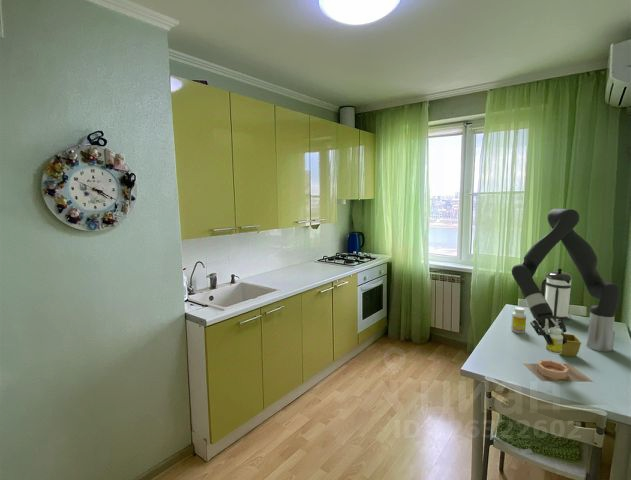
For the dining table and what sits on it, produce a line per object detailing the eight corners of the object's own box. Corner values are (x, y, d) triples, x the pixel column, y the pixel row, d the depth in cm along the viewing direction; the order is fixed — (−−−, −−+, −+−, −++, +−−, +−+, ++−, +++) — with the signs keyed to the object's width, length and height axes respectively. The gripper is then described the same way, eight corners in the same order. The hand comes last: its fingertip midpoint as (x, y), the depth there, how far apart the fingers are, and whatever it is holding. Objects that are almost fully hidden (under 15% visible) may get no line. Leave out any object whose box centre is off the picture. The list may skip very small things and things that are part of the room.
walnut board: (569, 366, 153) (569, 363, 153) (592, 384, 139) (593, 381, 139) (522, 366, 154) (522, 363, 154) (541, 383, 140) (541, 380, 140)
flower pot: (572, 352, 166) (574, 334, 164) (579, 361, 157) (581, 342, 156) (551, 349, 168) (552, 332, 167) (557, 358, 160) (558, 339, 159)
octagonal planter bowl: (556, 366, 151) (557, 359, 150) (573, 379, 140) (574, 372, 140) (532, 366, 151) (532, 359, 151) (546, 379, 141) (547, 372, 140)
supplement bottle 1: (527, 333, 187) (528, 311, 185) (513, 333, 188) (515, 310, 186) (522, 328, 194) (524, 306, 192) (509, 328, 195) (510, 306, 193)
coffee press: (572, 315, 212) (577, 267, 208) (568, 323, 200) (573, 272, 196) (539, 309, 224) (543, 263, 219) (533, 315, 212) (537, 268, 208)
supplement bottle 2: (542, 348, 147) (544, 326, 145) (554, 348, 147) (556, 326, 146) (552, 354, 142) (554, 332, 140) (564, 354, 142) (567, 331, 141)
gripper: (528, 303, 148) (548, 341, 138) (558, 301, 150) (580, 339, 140) (518, 310, 154) (536, 348, 144) (548, 308, 156) (567, 345, 146)
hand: (558, 343), depth 142 cm, fingers closed on supplement bottle 2, 5 cm apart
